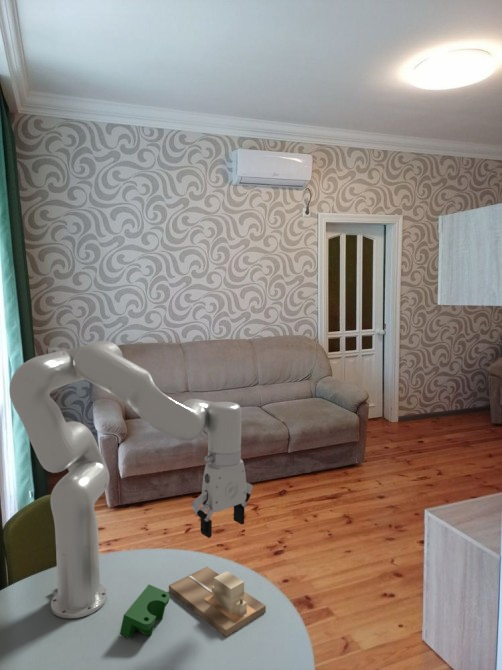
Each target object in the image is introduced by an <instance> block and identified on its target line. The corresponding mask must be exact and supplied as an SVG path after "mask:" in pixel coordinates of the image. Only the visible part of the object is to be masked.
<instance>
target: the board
mask: <svg viewBox="0 0 502 670" xmlns="http://www.w3.org/2000/svg"><path fill="white" fill-rule="evenodd" d="M218 575H220V574H219V573H218V572H216V571H215V570H213V569H211V568H210V567H208V566H206V567H203V568H201V569H199V570H197V571H195V572H193V573H191V574H189V575H187V576H185V577H182V578H180V579H179V580H177V581H175V582H173V583H170V584H169V585H168V592H170V593H171V594H172V595H173V596H174V597H176V598H177V599H178V600H180V601H181V602H182V603H183V604H184V605H186V606H187V607H188V608H189V609H191V610H192V611H193V612H194V613H196V614H197V615H198V616H199V617H200V618H202V619H203V620H204V621H206V622H207V623H208V624H209V625H211V626H212V627H213V628H215V629H216V630H217V631H218V632H219V633H221V635H224V636H225V637H226V638H227V637H228V636H230V635H231V634H233V633H235V632H236V631H237V630H239V629H241V628H243V626H245V625H247V624H249V623H250V622H251V621H254V620H256V618H258V617H260V616H261V615H263V614H265V613H266V611H267V606H266V604H264V603H262V602H261V601H260V600H258V599H256V597H254V596H252V595H250V594H249V593H247V592H246V591H245V590H244V601H245V602H246V603H247V613H246V614H244V615H242V616H241V617H240V616H238V615H237V614H236V613H233V614H230V613H228V612H227V611H225V610H224V609H223V608H221V607H220V606H219V605H217V604H216V603H215V602H214V597H212V587H213V586H214V577H216V576H218Z"/></svg>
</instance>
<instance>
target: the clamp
mask: <svg viewBox="0 0 502 670" xmlns="http://www.w3.org/2000/svg"><path fill="white" fill-rule="evenodd" d="M170 597H171V595H170V593H169V592H167V591H165V590H163V589H160V588H158V587H156V586H154V585H151V584H147V586H146V587H145V588H144V590H143V591H142V592H141V593H140V594H139V596H138V597H137V598H136V599H135V600H134V602H133V603H132V604H131V605H130V607H128V609H127V611H125V613H123V617H122V622H121V627H120V631H119V635H120V636H123V637H124V638H127V639H131V637H132V636H133V634H134V633H135V631H138V632H141V633H143V634H144V635H147V636H150V637H151V636H152V635H153V631H154V628H155V623H156V620H158V621H162V620H163V619H164V614H165V609H166V607H167V605H168V604H169V603H170V599H171V598H170Z"/></svg>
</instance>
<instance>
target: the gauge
mask: <svg viewBox="0 0 502 670" xmlns="http://www.w3.org/2000/svg"><path fill="white" fill-rule="evenodd" d="M244 591H245V582H244V581H243V580H242V579H240V578H239V577H237V576H235V575H234V574H233V573H231V572H230V571H228V570H226V571H224V572H223V573H221V574H219V575H218V576H216V577H214V586H213V587H212V597H214V602H215V603H216V604H217V605H219V606H220V607H221V608H223V609H224V610H225V611H227V612H228V613H230V614H233V613H236V614H237V615H238V616H240V617H241V616H242V615H244V614H246V613H247V603H246V602H245V601H244Z"/></svg>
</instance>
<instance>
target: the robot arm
mask: <svg viewBox="0 0 502 670" xmlns="http://www.w3.org/2000/svg"><path fill="white" fill-rule="evenodd" d="M81 381H87V382H88V383H91V384H93V385H95V386H96V387H98V388H100V389H102V390H104V391H106V392H107V393H109V394H111V395H113V396H114V397H116V398H117V399H118V400H121V401H123V402H124V403H126V404H127V405H128V406H129V407H130V408H131V409H132V411H134V412H135V413H136V414H137V415H138V416H139V417H140V418H141V419H142V420H143V421H144V422H145V423H147V425H149V426H151V427H152V428H154V429H155V430H157V431H158V432H160V433H162V434H165V435H166V436H168V437H169V438H172V439H174V440H176V441H179V442H183V443H189V442H193V441H195V440H197V439H198V438H199V437H201V435H202V434H203V432H204V431H207V434H208V435H207V438H208V439H207V455H206V456H204V461H205V467H204V471H203V477H202V488H201V494H200V495H198V497H196V498H195V499H194V500H193V501H192V502H191V505H190V506H191V508H192V509H193V510H192V511H193V512H194V514H195V515H197V517H198V518H200V533H201V534H202V535H203V536H205V537H206V538H207V539H210V538H211V537H212V531H213V530H212V529H213V527H212V526H213V521H212V520H211V517H212V516H213V514H214V512H215V513H218V512H222V511H224V510H228V509H231V508H233V521H234V522H236V523H238V524H240V525H244V524H245V508H246V507H247V506H248V501H249V500H250V498H251V494H252V491H253V488H254V485H253V484H251V483H249V482H247V476H246V469H245V465H244V461H243V459H241V458H242V455H241V454H242V443H241V442H242V417H243V416H242V413H243V412H242V408H241V406H240V404H239V403H236V402H233V401H211V400H206V399H205V400H204V399H200V398H190V399H187V400H185V401H184V402H182V403H179V402H177V401H176V400H174V399H172V398H171V397H169V396H168V395H166V394H165V393H164V392H162V390H160V389H159V387H158V386H157V385H156V384H155V382H154V380H153V377H152V375H151V374H150V372H149V371H148V370H147V369H145V368H143V367H141V366H139V365H137V364H136V363H134V362H132V361H130V360H128V359H127V358H125V357H124V356H123V352H122V350H121V349H120V347H119V346H118V345H117V344H116V343H114V342H112V341H109V340H98V341H94V342H91V343H87V344H85V345H80V346H76V347H72V348H69V349H62V350H59V351H54V352H50V353H45V354H42V355H38V356H35V357H32V358H30V359H29V360H26V361H25V362H23V363H22V364H21V365H20V366H19V367H18V368H17V369H16V371H14V373H13V375H12V377H11V379H10V382H9V391H8V392H9V398H10V401H11V403H12V406H13V408H14V410H15V411H16V414H17V415H18V417H19V420H20V421H21V422H22V425H23V427H24V429H25V433H26V435H27V437H28V439H29V441H30V444H31V446H32V448H33V451H34V453H35V456H36V458H37V459H38V462H39V463H40V465H41V467H42V468H43V469H44V470H46V472H50V473H52V474H55V473H60V472H63V471H65V470H66V469H67V470H68V472H67V473H66V474H64V476H63V477H61V478H60V479H59V480H58V482H57V483H56V484H55V486H54V487H53V489H52V491H51V494H50V508H51V513H52V516H53V517H52V519H53V522H54V533H55V535H54V536H55V551H56V558H55V559H56V581H57V592H56V593H55V594H54V595H53V597H52V599H51V602H50V609H51V612H52V613H53V614H54V615H55V616H56V617H59V618H63V619H78V618H83V617H85V616H89V615H91V614H93V613H95V612H96V611H98V610H99V609H101V607H103V605H105V602H106V601H107V599H108V594H107V593H108V592H107V589H106V587H105V586H104V585H102V584H101V578H100V577H101V576H100V574H101V571H100V543H99V539H100V538H99V523H98V518H97V515H96V511H95V505H96V502H98V499H99V498H100V497H101V496H102V495H103V493H104V492H105V491H106V490H107V488H108V486H109V483H110V479H111V478H110V471H109V469H108V466H107V463H106V460H105V459H104V456H103V453H102V452H101V449H100V447H99V445H98V443H97V441H96V438H95V436H94V435H93V432H92V431H91V430H90V429H89V428H88V427H87V426H86V425H85V424H83V423H82V422H80V421H72V420H71V421H67V420H66V419H65V417H64V415H63V412H62V410H61V408H60V407H59V405H58V403H57V402H56V401H55V400H54V399H53V398H52V397H51V395H50V394H51V392H53V391H54V390H57V389H59V388H63V387H64V386H67V385H70V384H74V383H76V382H81ZM66 421H67V422H66ZM201 506H202V507H201Z"/></svg>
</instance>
